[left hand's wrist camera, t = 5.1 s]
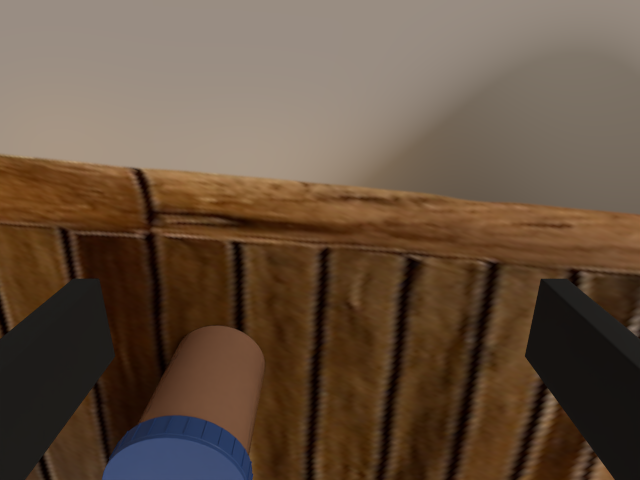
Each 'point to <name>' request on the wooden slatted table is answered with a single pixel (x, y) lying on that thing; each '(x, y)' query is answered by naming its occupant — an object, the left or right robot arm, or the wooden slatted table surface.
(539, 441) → the wooden slatted table surface
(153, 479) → the lid
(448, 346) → the wooden slatted table surface
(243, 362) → the jar
